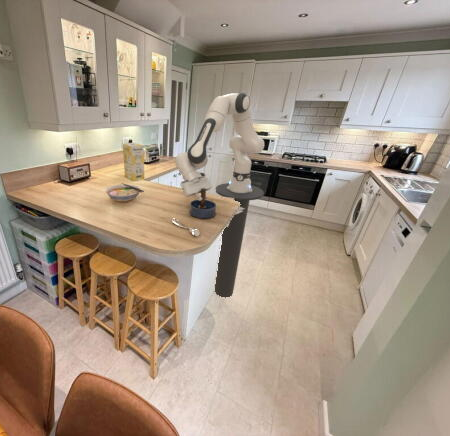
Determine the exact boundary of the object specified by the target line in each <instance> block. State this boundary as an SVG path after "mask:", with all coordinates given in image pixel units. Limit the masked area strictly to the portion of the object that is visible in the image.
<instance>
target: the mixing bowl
mask: <svg viewBox="0 0 450 436" xmlns="http://www.w3.org/2000/svg"><path fill="white" fill-rule="evenodd" d="M198 206H200V201H199V199H193V200H191V201H190V202H189V215H191V216H193V217H194V218H198V219H210V218H213V217H215V216H216V214H217V213H216V212H217V203H215V202H214V201H213V200H208V199H205V206H206V209H198Z"/></svg>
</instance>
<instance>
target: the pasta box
mask: <svg viewBox="0 0 450 436" xmlns="http://www.w3.org/2000/svg"><path fill="white" fill-rule="evenodd" d="M144 151H145V149H144V145H143V144H140V143H137V142H126V143H122V156H123V168H124V177H126V178H128V179H129V180H131V181H133V182H135V181H141V180H145V178H146V177H145V155H144V154H145V152H144Z"/></svg>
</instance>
